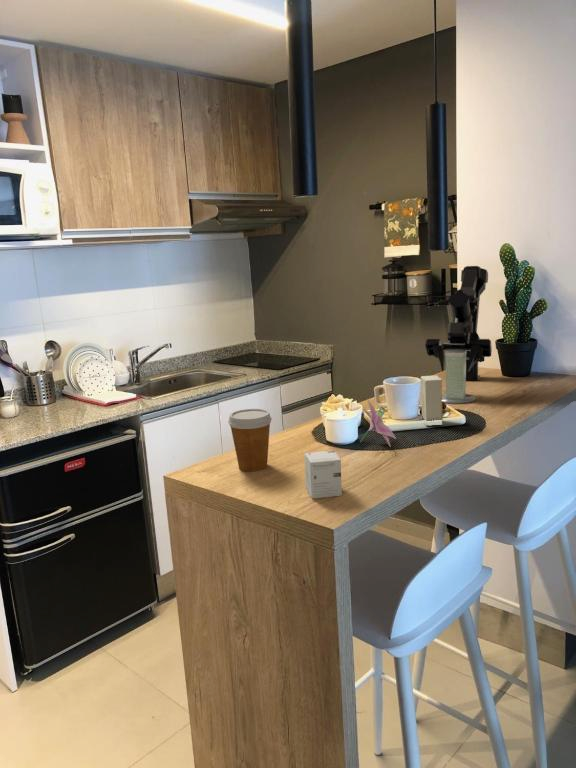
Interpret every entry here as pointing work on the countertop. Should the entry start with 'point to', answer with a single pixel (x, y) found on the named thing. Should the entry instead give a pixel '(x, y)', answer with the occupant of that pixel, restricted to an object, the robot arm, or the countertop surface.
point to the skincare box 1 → (323, 474)
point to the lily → (378, 424)
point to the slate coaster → (467, 399)
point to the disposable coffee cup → (251, 437)
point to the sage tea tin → (455, 374)
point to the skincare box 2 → (431, 397)
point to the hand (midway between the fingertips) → (454, 370)
